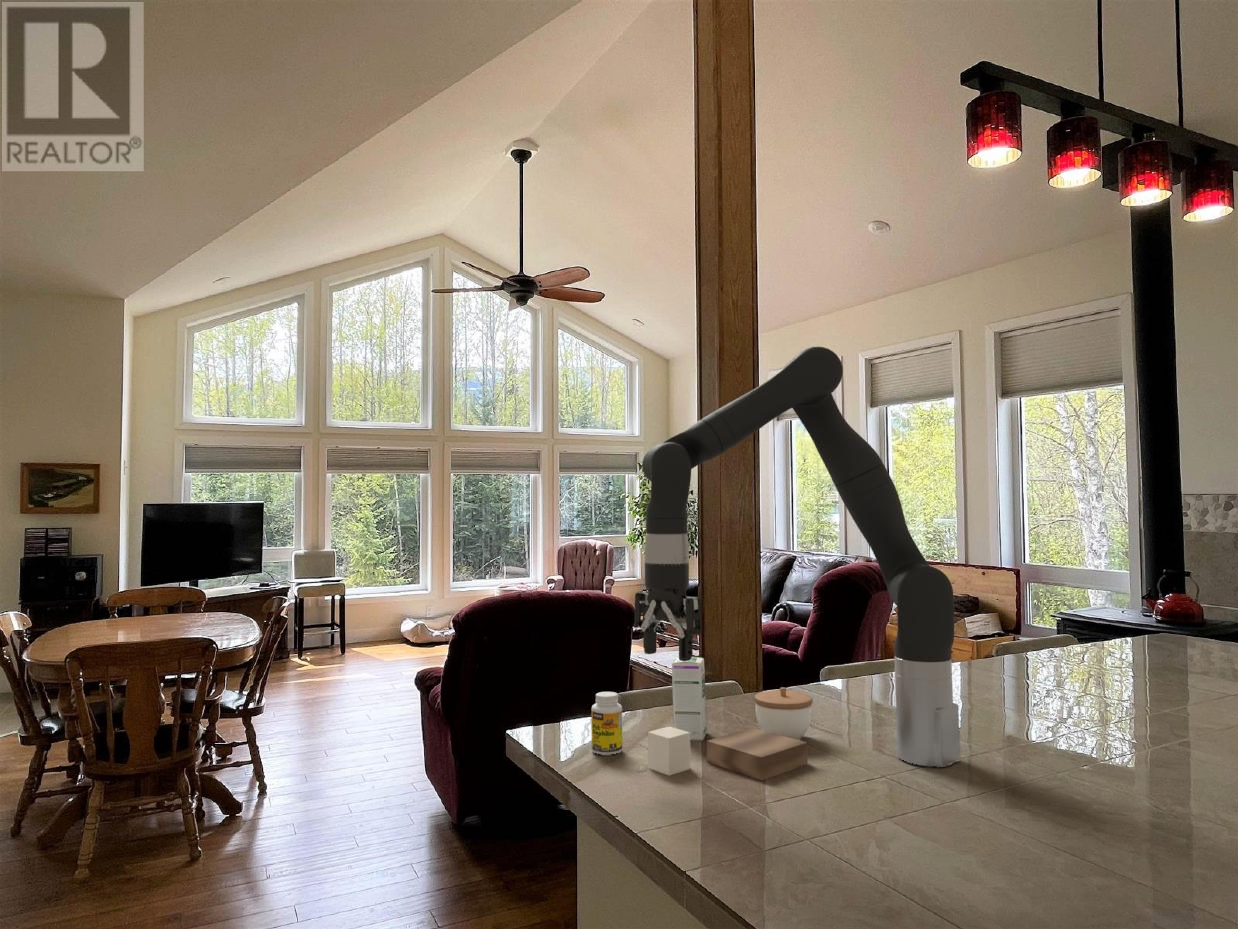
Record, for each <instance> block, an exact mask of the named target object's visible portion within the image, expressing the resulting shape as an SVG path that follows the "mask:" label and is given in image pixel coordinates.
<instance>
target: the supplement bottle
mask: <svg viewBox="0 0 1238 929" xmlns="http://www.w3.org/2000/svg"><path fill="white" fill-rule="evenodd" d="M590 712H591V714H590V715H591V716H590V717H591V721H590V722H591V723H590V724H591V751H592V753H594V754H595V753H598V754H604V755H603V756H611V755H610V754H615V755H617V754H616V753H618V754H620V753H621V752H622V750H623V706H622V705H621V703H619V697H618V693H617V692H615V691H600V692H597V693H596V694H595V703H594V704H592V706H591V711H590ZM598 754H597V755H598Z"/></svg>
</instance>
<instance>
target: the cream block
mask: <svg viewBox="0 0 1238 929" xmlns="http://www.w3.org/2000/svg"><path fill="white" fill-rule="evenodd" d="M647 754H648V756H647V757H648V758H647V761H648V762H647V763H648V764H647V766H648V767H647V768H648V769H649V770H652V771H655V772H657V773H661V774H664V775H666V776H672V775H676V774H678V773H681V772H685V771H688V770H691V769H692V768H691V766H692V765H691V763H692V762H691V761H692V760H691V740H690V732H686V731H683V730H680V729H676V728H674V726H673V727H672V726H665V727H663V728H657V729H654V730H651V731H648V732H647Z"/></svg>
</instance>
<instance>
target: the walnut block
mask: <svg viewBox="0 0 1238 929" xmlns="http://www.w3.org/2000/svg"><path fill="white" fill-rule="evenodd" d="M808 751H809V750H808V742H807V741H803V740H796V739H793V738H789V737H785V736H781V735H778V734H774V733H770V732H766V731H763V730H761V729H757V728H754V727H751V728H748V729H747V728H746V729H744V730H740V731H737V732H734V733H730V734H726V735H723V736H720V737H716V738H713V739H712V738H711V739H708V740H706V763H708V764H711V765H714V766H717V767H721V768H723V769H726V770H729V771H733V772H736V773H739V774H741V775H745V776H748V777H751V778H753V779H758V780H760V781H763V780H767V779H770V778H772V777H775V776H778V775H780V774H783V773H786V772H789V771H793V770H795V769H797V767H798V768H800V766H801V767H803V766H802V765H804V766H806V765H808V764H807V763H809V762H808V761H809V760H808V759H809V758H808V755H809V754H808ZM805 764H806V765H805ZM769 777H770V778H769Z"/></svg>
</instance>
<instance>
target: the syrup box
mask: <svg viewBox="0 0 1238 929" xmlns="http://www.w3.org/2000/svg"><path fill="white" fill-rule="evenodd" d="M705 676H706V672H705V658H704V657H700V656H692V657H691V659H690V660H688V661H680V660H679V656H678V657H677V656H676V657H675V659H674V660H673V661H672V663H671V678H672V679H671V680H672V682H671V683H672V684H671V686H672V712H673V713H672V714H673V716H672V717H673V723H672V724H673V728H676V729H680V730H683V731H686V732H690V741H704V739H705V737H706V734H707V730H708V729H707V704H706V703H707V702H706V699H707V698H706V683H705V682H706V677H705Z"/></svg>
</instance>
